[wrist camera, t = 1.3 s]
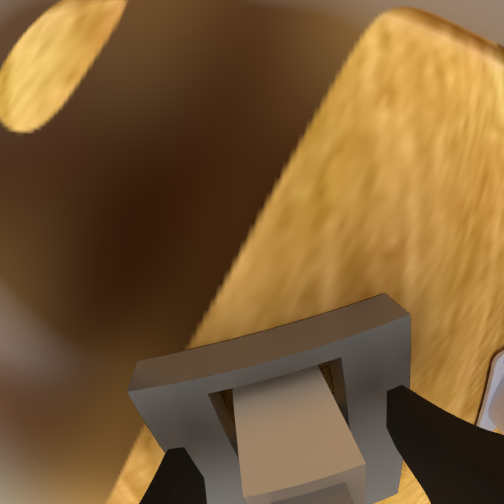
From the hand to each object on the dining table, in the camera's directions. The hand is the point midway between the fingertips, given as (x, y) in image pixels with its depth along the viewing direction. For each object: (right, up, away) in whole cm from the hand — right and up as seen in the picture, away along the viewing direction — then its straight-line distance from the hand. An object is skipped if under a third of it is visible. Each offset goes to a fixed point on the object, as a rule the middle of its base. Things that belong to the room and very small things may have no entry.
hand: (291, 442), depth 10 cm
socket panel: (+1, -3, +4) cm, 5 cm away
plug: (0, +1, +3) cm, 3 cm away
